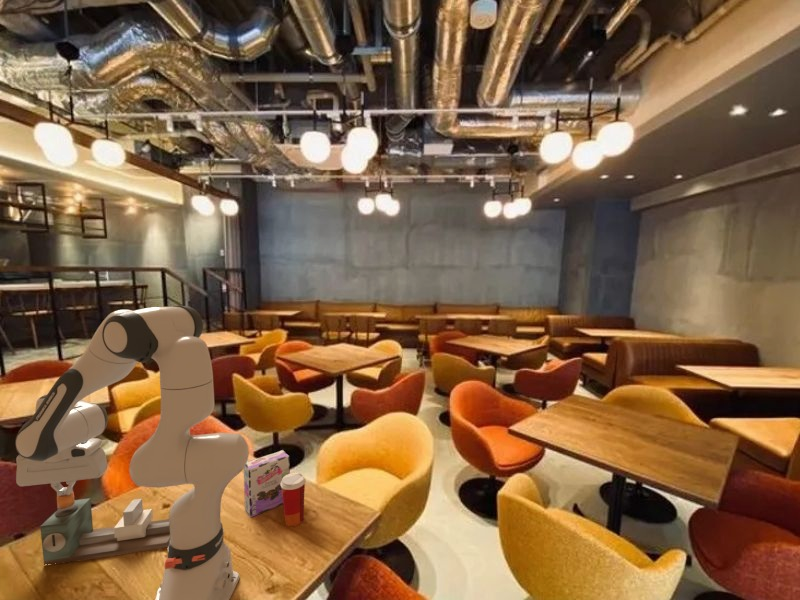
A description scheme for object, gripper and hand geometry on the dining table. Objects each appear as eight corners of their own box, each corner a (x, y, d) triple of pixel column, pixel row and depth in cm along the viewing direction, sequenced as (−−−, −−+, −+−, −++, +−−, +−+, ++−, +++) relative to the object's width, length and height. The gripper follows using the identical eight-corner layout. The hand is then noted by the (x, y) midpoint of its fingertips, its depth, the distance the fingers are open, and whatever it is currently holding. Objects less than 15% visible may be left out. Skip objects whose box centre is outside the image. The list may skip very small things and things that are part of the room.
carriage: (142, 539, 107) (140, 511, 106) (115, 544, 106) (112, 514, 105) (153, 523, 114) (151, 496, 113) (127, 527, 112) (125, 499, 112)
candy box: (250, 518, 119) (248, 469, 118) (244, 509, 124) (242, 462, 122) (291, 501, 128) (289, 455, 126) (284, 493, 132) (283, 448, 131)
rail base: (166, 548, 106) (164, 509, 105) (42, 567, 100) (38, 526, 99) (181, 521, 118) (178, 486, 117) (70, 537, 111) (66, 499, 110)
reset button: (69, 508, 104) (68, 498, 104) (54, 510, 103) (53, 499, 103) (77, 500, 107) (76, 490, 107) (63, 502, 107) (62, 492, 106)
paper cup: (297, 509, 123) (296, 469, 122) (311, 519, 119) (310, 477, 117) (276, 521, 117) (274, 479, 116) (290, 532, 113) (289, 488, 111)
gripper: (6, 458, 98) (12, 507, 100) (95, 449, 103) (99, 496, 104) (24, 446, 104) (29, 493, 106) (108, 439, 109) (111, 483, 110)
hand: (65, 494), depth 105 cm, fingers closed, pressing on reset button
